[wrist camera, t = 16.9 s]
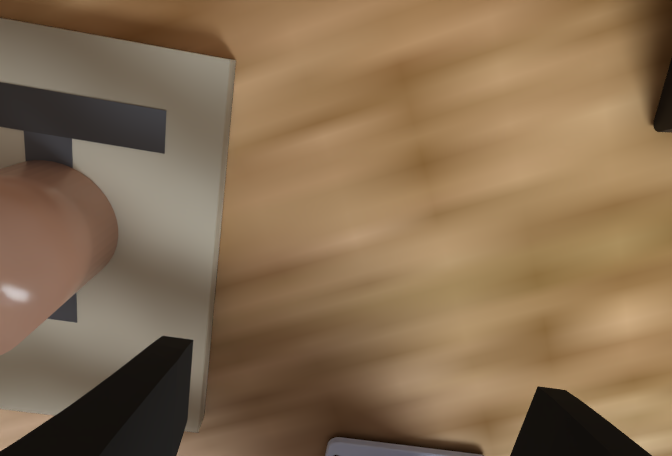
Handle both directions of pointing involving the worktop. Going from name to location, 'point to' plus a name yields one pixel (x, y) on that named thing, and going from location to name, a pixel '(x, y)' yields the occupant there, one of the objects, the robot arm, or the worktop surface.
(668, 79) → the phone stand
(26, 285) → the terracotta cylinder
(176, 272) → the letter board
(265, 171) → the worktop surface
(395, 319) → the worktop surface
